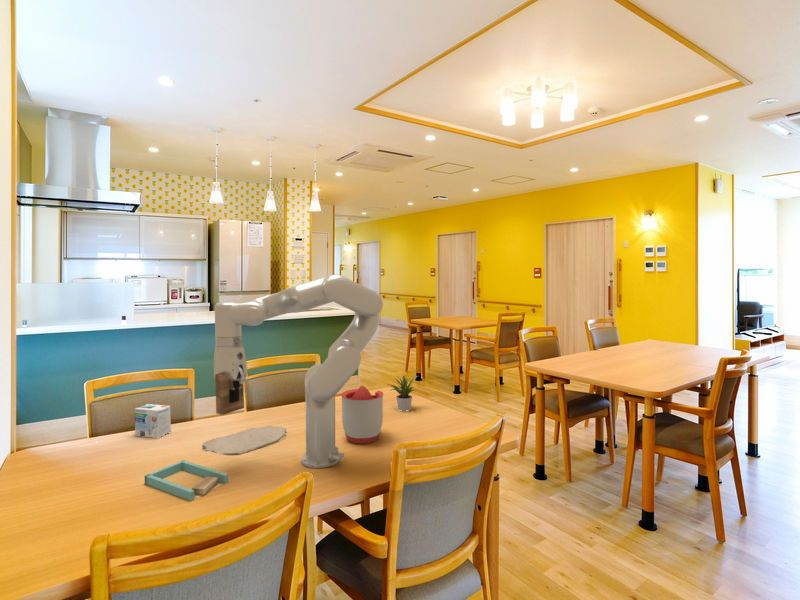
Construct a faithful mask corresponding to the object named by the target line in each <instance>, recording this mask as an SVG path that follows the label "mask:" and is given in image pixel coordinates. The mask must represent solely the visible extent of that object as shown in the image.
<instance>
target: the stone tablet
mask: <svg viewBox="0 0 800 600" xmlns="http://www.w3.org/2000/svg"><path fill="white" fill-rule="evenodd" d="M286 432H287V428H286V427H283V426H272V425H267V426H263V427H251V428H247V429H245V430H242V431H239V432H235V433H232V434H229V435H226V436H221V437H220V436H219V437H215V438H211V439H209V440H207V441H205V442H202V445H201V448H202V450H203V449H206V450H205V451H206V452H210V453H214V454H219V455H223V456H224V455H225V456H233V455H242V454H243V455H244V454H246V453H250V452H252V451H255V450H258V449H263V448H265V447H268V446H270V445H273V444H276V443H279V442H281V441H283V440H285V439H286V437H287V433H286Z"/></svg>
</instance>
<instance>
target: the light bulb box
mask: <svg viewBox="0 0 800 600" xmlns="http://www.w3.org/2000/svg"><path fill="white" fill-rule="evenodd" d="M171 415H172V414H171V405H164V404H163V405H162V404H153V403H152V404H151V403H147V404H144V405H141V406H139V407H135V408H134V431H135V433H134V434H135V435H134V436H135V437H139V436H144V437H143V438H147V437H153V438H152V439H155V438H158V437H161V436H163V435H165V434H167V433H169V432H171V433H172V424H171V423H172V422H171V419H172V418H171ZM167 435H168V434H167ZM165 436H166V435H165ZM163 437H164V436H163ZM161 438H162V437H161Z"/></svg>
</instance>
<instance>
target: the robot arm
mask: <svg viewBox="0 0 800 600" xmlns="http://www.w3.org/2000/svg"><path fill="white" fill-rule="evenodd" d="M330 303H335V304H336V305H337V304H338V305H339V306H341V307H343V308H345V309H348V310H350V311H352V312H354V317H353V319H352V321H351V323H350V324H349V325H348V326H347V327H346V329H345V330H344V331H343V332H342V333H341V335H339V337H338V338H337V339H336V340H335V341H334V342H333V343H332V344H331V346H330V347H329V349H328V353H327V358H325V360H324V361H323V363H316V364H313V365H312V366H311V367H309V368H308V370H307V371H306V373H305V376H304V393H305V394H304V396H305V398H304V399H305V453H304V454H303V455H302V456H301V457H300V458H301V459H300V461H301V464H302V465H303V466H305V467H308V468H313V469H322V468H323V469H324V468H328V467H333V466H335V465H336V464H338V463H342V462H343V460H344V457H345V453H344V452H339V446H336V395H337V394H338V393H339V392H340V390H341V389H342V388H343V387H344V386H345V385H346V383H348V382H349V380H350V379H351V377H353V375H354V374H355V373H356V371H357V370H358V368H359V366H360V364H361V361H362V355H361V352H362V351H363V350H364V349H365V347H366V346H367V345H368V344H369V342H370V341H371V340H372V339H373V337H374V335H375V334H376V332H377V329H378V327H379V322H380V313H381V311H382V309H383V306H384V302H383V298H382V296H381V295H380V294H379V293H378V292H377V291H375V290H373V289H371V288H369V287H367V286H364V285H362V284H360V283H358V282H356V281H354V280H352V279H350V278H348V277H345V276H344V275H341V274H330V275H326V276H323V277H319V278H316V279H313V280H310V281H307V282H303V283H300V284H296V285H294V286H290V287H287V288H286V289H284V290H281V291H278V292H275V293H271V294H268V295H266V296H265V295H264V296H262V297H258V298H255V299H251V300H249V301H246V302H236V301H221V302H217V303H216V304H215V305H214V329H215V331H214V334H215V335H214V336H215V337H214V338H215V347H214V353H213V378H214V379H215V374H219V373H222V374H227V378H228V379H229V380H230V387H231V390H229V397H230V403H233V402H237V401H239V388H240V386H241V385H242V384H243V385H244V384H245V383H246V382H247V379H246V377H247V375H248V369H247V357H246V352H245V348H244V346H243V340H242V339H243V338H242V336H243V335H242V326H249V327H255V326H258V325H262V324H263V322H265V321H266V320H269V319H273V318H276V317H279V316H282V315H286V314H294V313H295V314H297V313H301V312H305V311H308V310H312V309H315V308H317V307H321V306H324V305H327V304H328V305H329V304H330ZM234 381H236V382H235V384H234Z"/></svg>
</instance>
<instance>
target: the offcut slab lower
mask: <svg viewBox="0 0 800 600" xmlns="http://www.w3.org/2000/svg"><path fill="white" fill-rule="evenodd" d="M221 485H222V483H218V484H217V485H216V486H215V487H214V488H213V489H211V490H210V491H209V492H211V491H212V490H214V489H216V488H218V487H221ZM201 496H202V495H194V498H200V497H201Z"/></svg>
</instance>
